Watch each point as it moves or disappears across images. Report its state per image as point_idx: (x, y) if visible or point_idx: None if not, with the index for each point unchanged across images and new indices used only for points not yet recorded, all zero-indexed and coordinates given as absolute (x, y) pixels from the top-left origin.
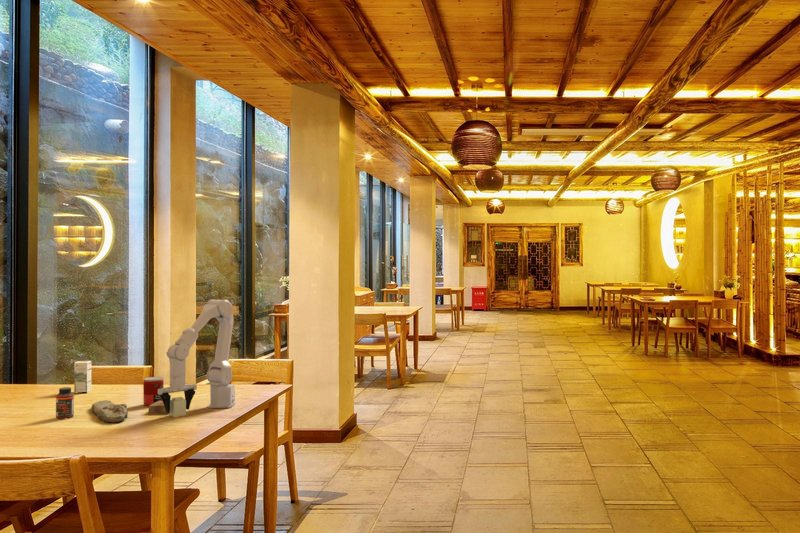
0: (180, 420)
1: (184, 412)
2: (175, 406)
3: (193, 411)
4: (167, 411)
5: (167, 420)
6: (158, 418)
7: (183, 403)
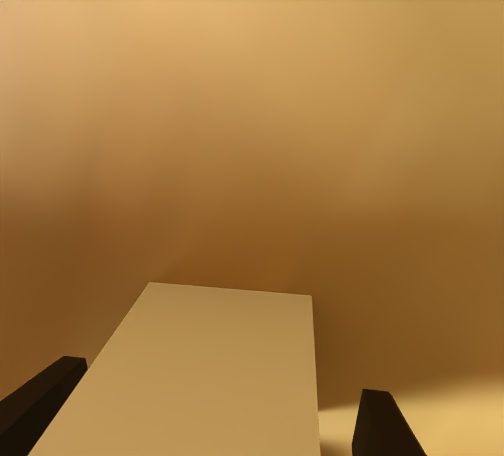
0: (357, 22)
1: (154, 308)
2: (291, 427)
3: (25, 374)
4: (397, 416)
5: (492, 197)
6: (480, 382)
7: (99, 441)
